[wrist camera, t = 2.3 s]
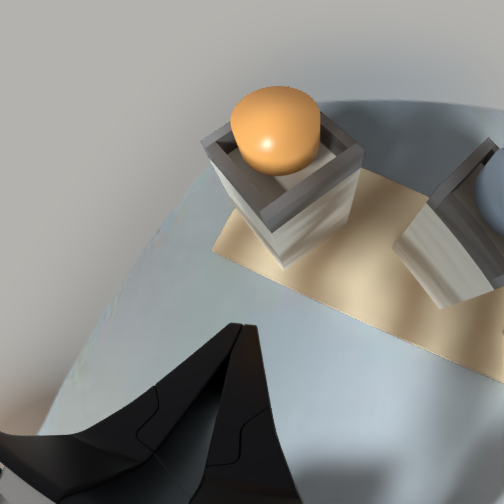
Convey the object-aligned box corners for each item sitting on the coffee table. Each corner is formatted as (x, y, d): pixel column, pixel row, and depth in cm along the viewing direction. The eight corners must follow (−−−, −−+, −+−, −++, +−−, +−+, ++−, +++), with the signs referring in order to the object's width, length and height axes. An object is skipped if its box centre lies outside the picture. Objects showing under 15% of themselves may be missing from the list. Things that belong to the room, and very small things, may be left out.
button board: (537, 398, 16) (613, 405, 6) (215, 253, 25) (157, 193, 15) (565, 285, 18) (634, 255, 8) (276, 143, 27) (258, 53, 17)
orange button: (271, 191, 14) (265, 168, 12) (224, 140, 15) (214, 115, 13) (337, 146, 14) (339, 119, 12) (285, 101, 15) (281, 75, 14)
